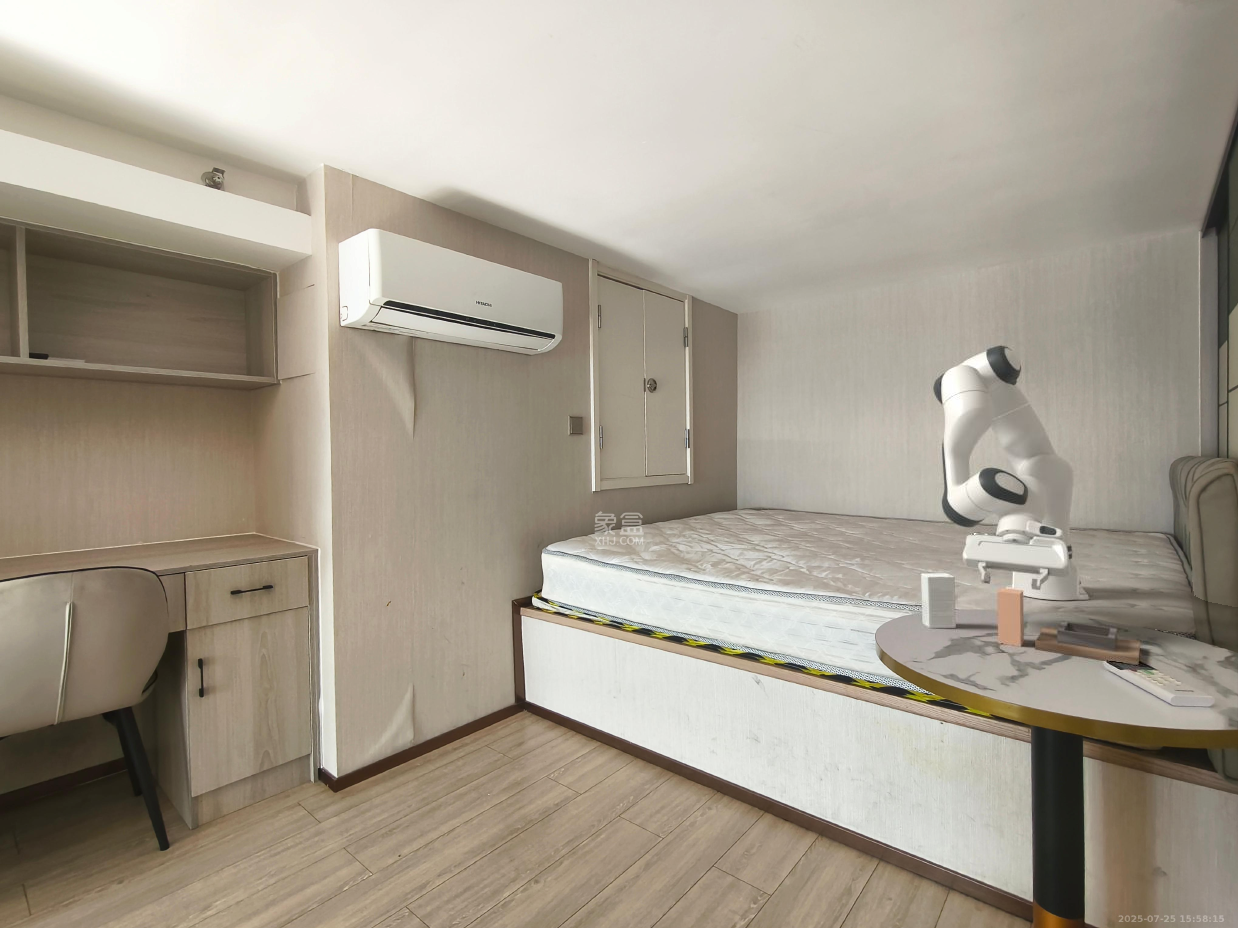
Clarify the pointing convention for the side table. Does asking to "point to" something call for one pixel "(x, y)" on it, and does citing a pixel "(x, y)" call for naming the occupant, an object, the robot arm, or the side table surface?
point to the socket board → (1088, 642)
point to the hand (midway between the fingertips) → (1009, 584)
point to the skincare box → (938, 600)
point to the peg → (1010, 617)
